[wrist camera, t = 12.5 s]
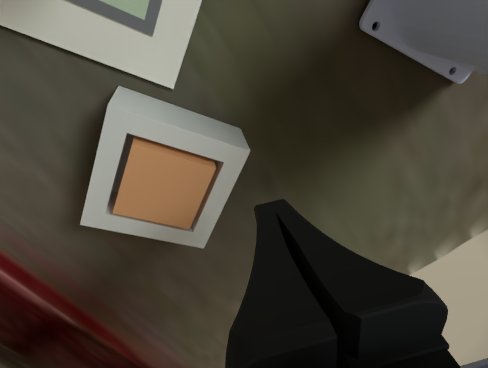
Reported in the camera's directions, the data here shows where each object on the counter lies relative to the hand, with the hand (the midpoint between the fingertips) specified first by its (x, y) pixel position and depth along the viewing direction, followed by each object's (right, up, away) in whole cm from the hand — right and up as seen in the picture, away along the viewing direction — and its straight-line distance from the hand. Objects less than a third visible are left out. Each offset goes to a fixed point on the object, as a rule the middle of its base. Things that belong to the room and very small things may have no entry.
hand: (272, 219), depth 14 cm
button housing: (-7, +3, +8) cm, 11 cm away
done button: (-6, +2, +7) cm, 10 cm away
